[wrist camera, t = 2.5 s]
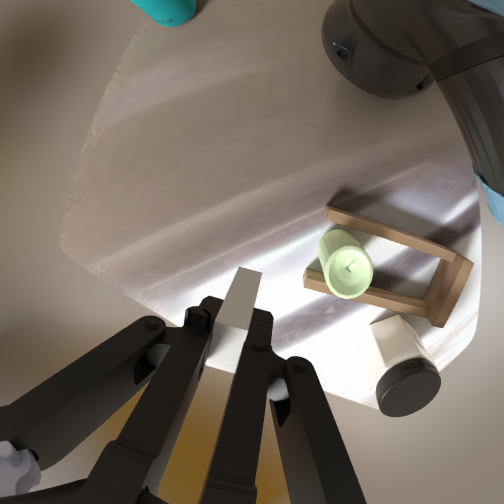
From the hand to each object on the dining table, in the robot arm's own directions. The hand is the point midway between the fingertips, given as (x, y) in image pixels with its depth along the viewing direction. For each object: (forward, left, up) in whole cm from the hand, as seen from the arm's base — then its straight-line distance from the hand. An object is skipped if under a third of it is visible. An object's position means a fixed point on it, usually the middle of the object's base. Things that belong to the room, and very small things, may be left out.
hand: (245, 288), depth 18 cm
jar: (+11, +22, -16) cm, 29 cm away
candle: (0, +9, -16) cm, 19 cm away
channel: (0, +15, -16) cm, 22 cm away
